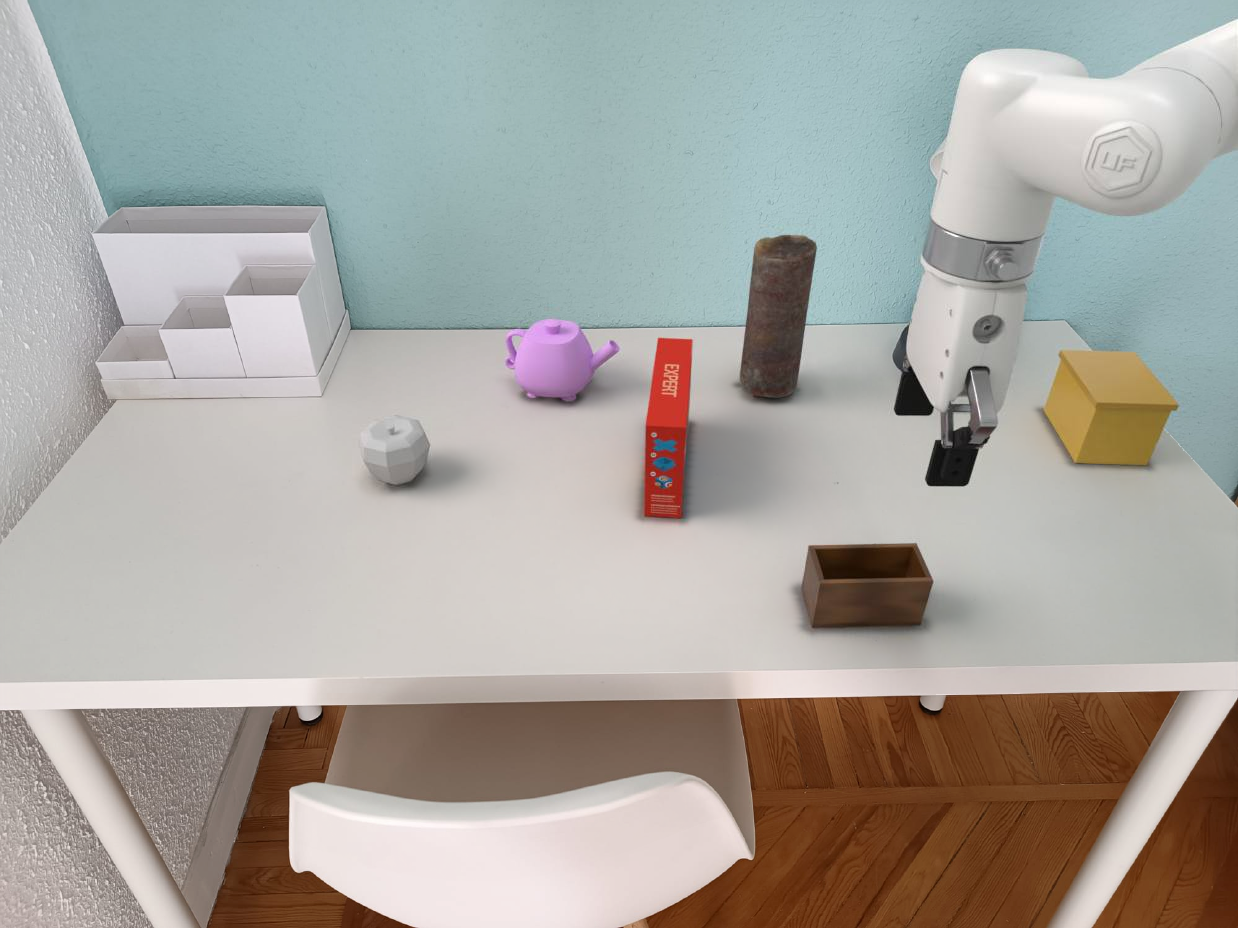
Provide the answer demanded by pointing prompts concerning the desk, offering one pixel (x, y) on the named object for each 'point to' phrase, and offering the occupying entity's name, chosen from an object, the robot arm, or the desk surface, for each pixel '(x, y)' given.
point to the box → (1108, 407)
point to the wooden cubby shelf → (865, 585)
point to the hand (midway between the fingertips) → (928, 447)
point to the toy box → (667, 428)
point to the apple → (394, 449)
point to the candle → (777, 314)
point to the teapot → (555, 359)
